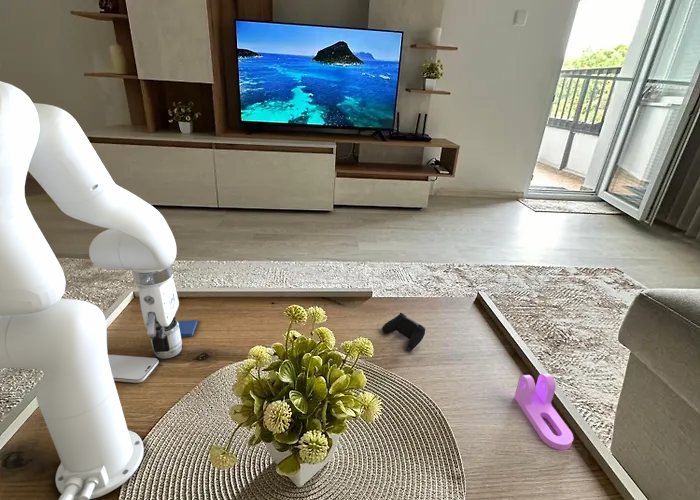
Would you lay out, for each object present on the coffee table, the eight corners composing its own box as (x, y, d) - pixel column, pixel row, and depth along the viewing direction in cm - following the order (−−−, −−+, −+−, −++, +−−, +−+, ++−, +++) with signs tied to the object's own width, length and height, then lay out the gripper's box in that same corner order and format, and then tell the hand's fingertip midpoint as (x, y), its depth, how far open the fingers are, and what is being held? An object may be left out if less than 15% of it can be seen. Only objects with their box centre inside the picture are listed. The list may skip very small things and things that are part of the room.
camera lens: (156, 344, 95) (150, 317, 92) (184, 341, 97) (179, 313, 93) (151, 361, 90) (145, 333, 86) (181, 357, 91) (176, 329, 88)
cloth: (192, 336, 99) (192, 333, 99) (167, 337, 98) (166, 335, 98) (197, 322, 105) (197, 319, 104) (173, 323, 104) (173, 321, 103)
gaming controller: (417, 356, 98) (432, 333, 98) (409, 351, 94) (425, 326, 95) (386, 335, 105) (401, 313, 106) (378, 329, 102) (394, 307, 103)
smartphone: (98, 353, 91) (160, 357, 90) (100, 357, 92) (161, 361, 90) (75, 375, 85) (141, 380, 83) (76, 379, 85) (142, 384, 83)
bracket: (514, 397, 83) (520, 371, 80) (539, 395, 84) (546, 369, 81) (549, 451, 71) (558, 423, 68) (578, 448, 72) (588, 420, 69)
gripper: (159, 292, 77) (173, 365, 85) (181, 255, 93) (192, 319, 100) (118, 294, 76) (136, 367, 84) (147, 256, 92) (160, 320, 99)
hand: (166, 340), depth 92 cm, fingers closed on camera lens, 6 cm apart
